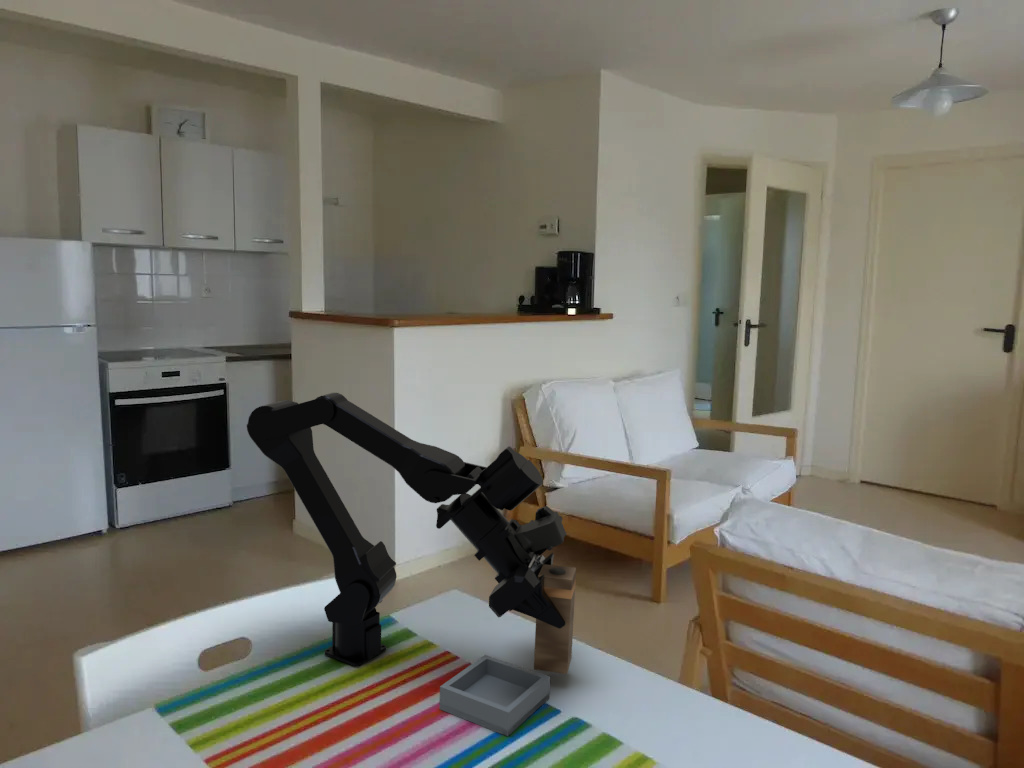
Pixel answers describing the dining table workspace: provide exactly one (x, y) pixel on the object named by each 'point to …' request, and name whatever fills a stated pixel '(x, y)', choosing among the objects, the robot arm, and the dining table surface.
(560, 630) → the block
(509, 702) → the tray
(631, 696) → the dining table surface
